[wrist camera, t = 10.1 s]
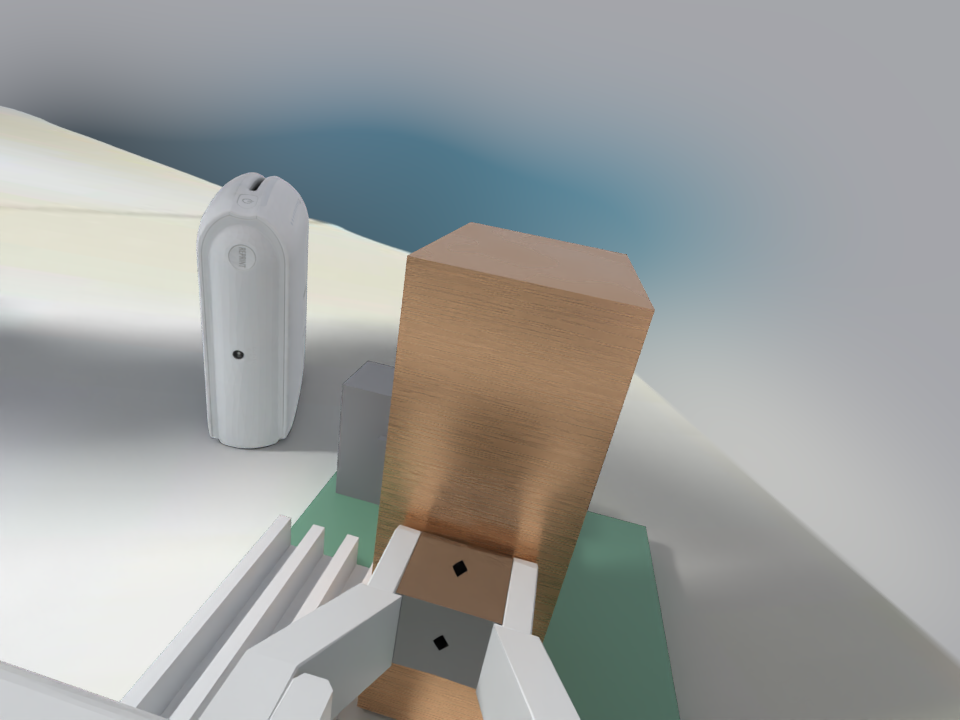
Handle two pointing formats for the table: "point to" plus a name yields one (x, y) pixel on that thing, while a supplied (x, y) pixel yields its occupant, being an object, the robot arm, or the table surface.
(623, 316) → the tall wooden block
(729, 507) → the table surface
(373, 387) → the board
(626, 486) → the table surface
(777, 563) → the table surface
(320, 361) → the table surface
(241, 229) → the photo printer
